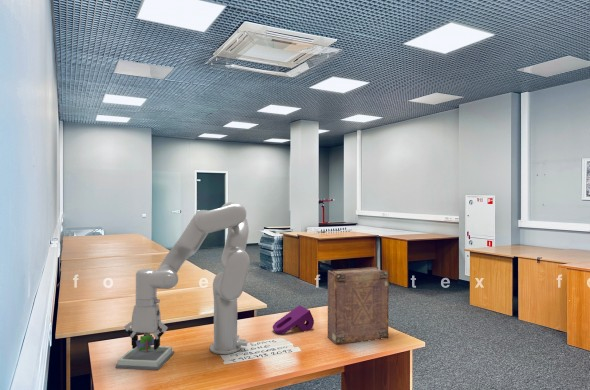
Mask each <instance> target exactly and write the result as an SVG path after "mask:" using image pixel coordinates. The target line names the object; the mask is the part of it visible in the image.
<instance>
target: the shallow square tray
mask: <svg viewBox="0 0 590 390" xmlns="http://www.w3.org/2000/svg"><path fill="white" fill-rule="evenodd" d="M153 346H154V345H152V346H151V349H148V351H146V350H142V352H141V351H139V350H138V349H139V348H137V347H135V348H134V349H132V348H130V350H128V351H127V352H126V353H124V355H122V356H121V357H119V358H118V359H117V364H116V365H115V369H123V370H142V371H145V370H146V371H159V370H160V369H161V368H162V367H163V366H164V364H166V362H168V360H169V359H170V358H171V357H172V356H173V355H174V354H175V350H173V346H161V345H160V346H159V347H158V348H157V349H156V350H154V347H153ZM147 352H148V353H147Z"/></svg>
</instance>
